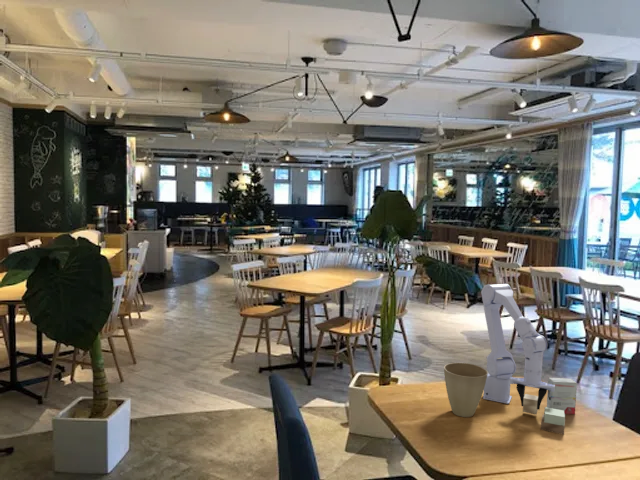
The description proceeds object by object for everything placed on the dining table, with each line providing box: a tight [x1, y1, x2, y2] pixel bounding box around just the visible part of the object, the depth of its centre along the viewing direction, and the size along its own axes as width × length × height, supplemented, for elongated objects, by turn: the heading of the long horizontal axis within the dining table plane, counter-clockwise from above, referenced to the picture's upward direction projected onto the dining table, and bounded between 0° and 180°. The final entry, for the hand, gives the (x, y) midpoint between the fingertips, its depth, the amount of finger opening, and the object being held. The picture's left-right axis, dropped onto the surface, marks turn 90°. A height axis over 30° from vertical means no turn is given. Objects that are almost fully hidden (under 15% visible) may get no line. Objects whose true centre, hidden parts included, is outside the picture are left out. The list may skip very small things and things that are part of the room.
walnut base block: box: [540, 414, 566, 435], centre depth 171 cm, size 7×7×3 cm
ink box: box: [546, 377, 578, 415], centre depth 185 cm, size 9×5×12 cm, turn 84°
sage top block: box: [543, 406, 566, 426], centre depth 171 cm, size 6×6×3 cm
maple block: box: [522, 393, 538, 415], centre depth 181 cm, size 4×4×5 cm
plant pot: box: [443, 362, 489, 418], centre depth 180 cm, size 15×15×16 cm
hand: (530, 406), depth 181 cm, fingers closed on maple block, 4 cm apart
